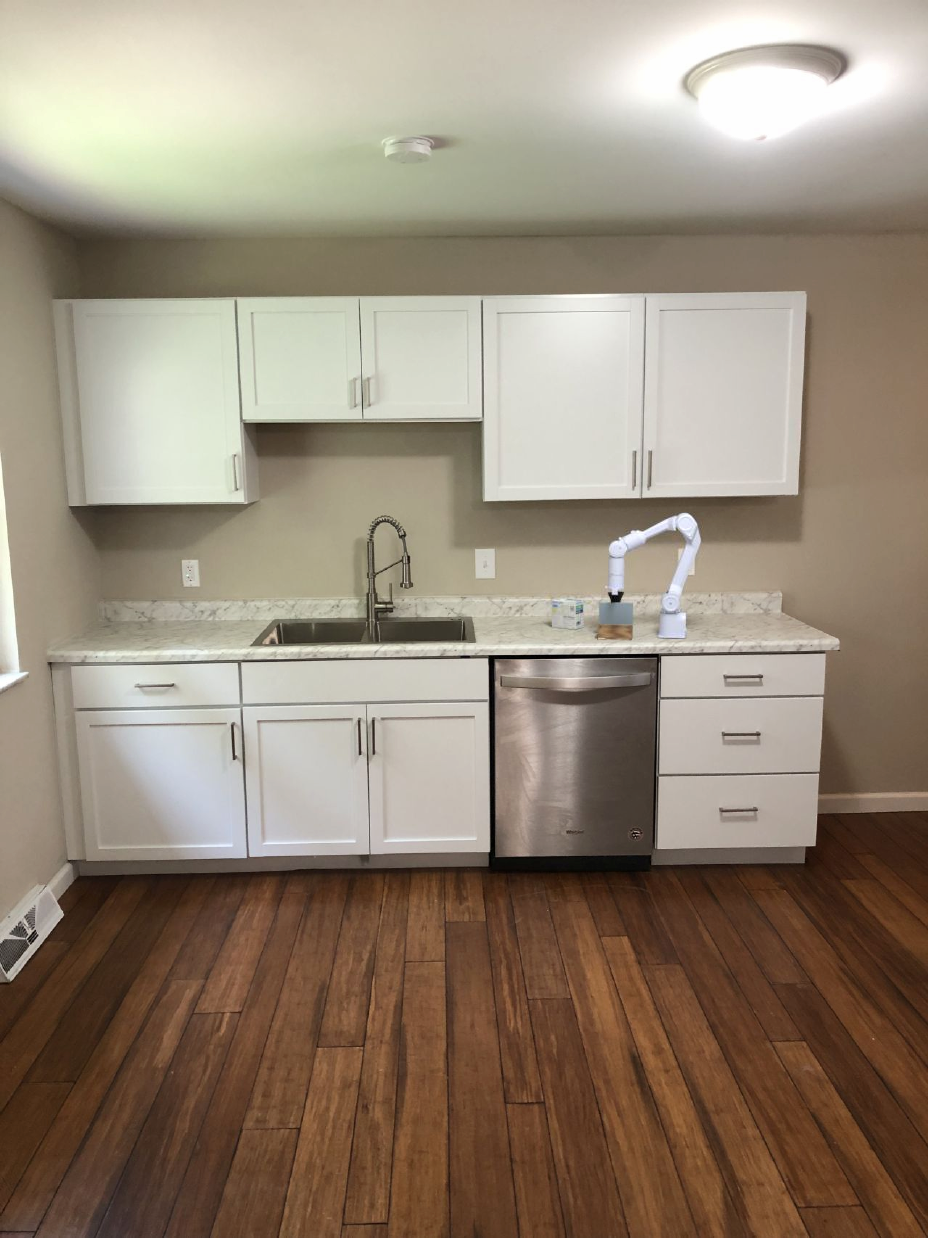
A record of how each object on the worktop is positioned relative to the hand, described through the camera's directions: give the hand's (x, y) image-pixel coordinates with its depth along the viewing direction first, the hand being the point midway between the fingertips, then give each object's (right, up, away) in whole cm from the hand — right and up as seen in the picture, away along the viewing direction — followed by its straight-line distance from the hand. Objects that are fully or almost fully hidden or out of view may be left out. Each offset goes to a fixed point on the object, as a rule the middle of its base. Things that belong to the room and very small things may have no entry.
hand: (615, 611), depth 337 cm
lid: (0, -1, -1) cm, 1 cm away
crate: (-1, -9, -3) cm, 10 cm away
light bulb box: (-15, -6, +20) cm, 26 cm away
